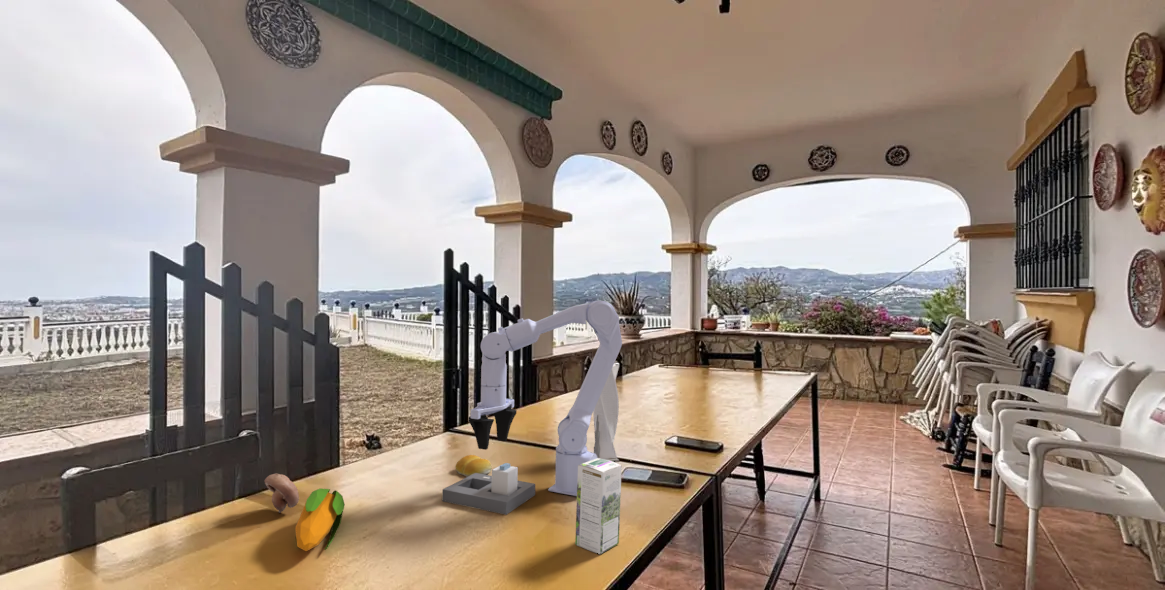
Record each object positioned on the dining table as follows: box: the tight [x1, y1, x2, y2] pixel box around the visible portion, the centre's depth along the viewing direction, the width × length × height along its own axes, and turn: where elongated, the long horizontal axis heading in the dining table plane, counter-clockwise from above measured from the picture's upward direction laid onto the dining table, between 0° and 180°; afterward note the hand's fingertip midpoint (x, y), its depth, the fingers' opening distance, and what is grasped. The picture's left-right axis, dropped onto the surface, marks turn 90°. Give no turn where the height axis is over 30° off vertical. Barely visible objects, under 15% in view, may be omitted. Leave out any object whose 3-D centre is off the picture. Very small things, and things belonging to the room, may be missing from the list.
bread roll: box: [454, 454, 493, 478], centre depth 132 cm, size 8×9×4 cm
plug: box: [491, 462, 519, 496], centre depth 113 cm, size 4×4×8 cm
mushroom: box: [264, 473, 300, 513], centre depth 104 cm, size 8×6×8 cm
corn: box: [294, 488, 345, 552], centre depth 93 cm, size 7×8×20 cm
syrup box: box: [574, 458, 622, 555], centre depth 93 cm, size 6×6×14 cm
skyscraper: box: [592, 362, 620, 462], centre depth 146 cm, size 8×8×28 cm
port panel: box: [441, 473, 536, 516], centre depth 114 cm, size 16×12×3 cm
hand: (492, 444), depth 119 cm, fingers open, 7 cm apart
